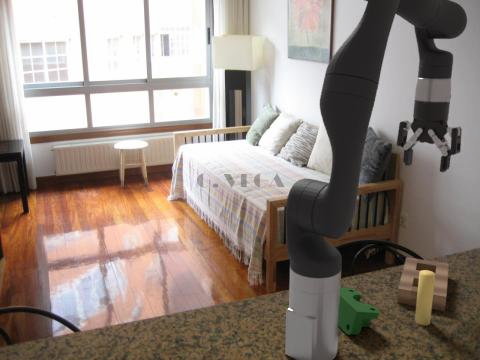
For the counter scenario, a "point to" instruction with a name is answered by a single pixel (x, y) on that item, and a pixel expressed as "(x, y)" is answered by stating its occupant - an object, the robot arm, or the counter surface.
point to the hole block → (411, 280)
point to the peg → (424, 297)
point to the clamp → (354, 312)
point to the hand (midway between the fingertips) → (425, 168)
